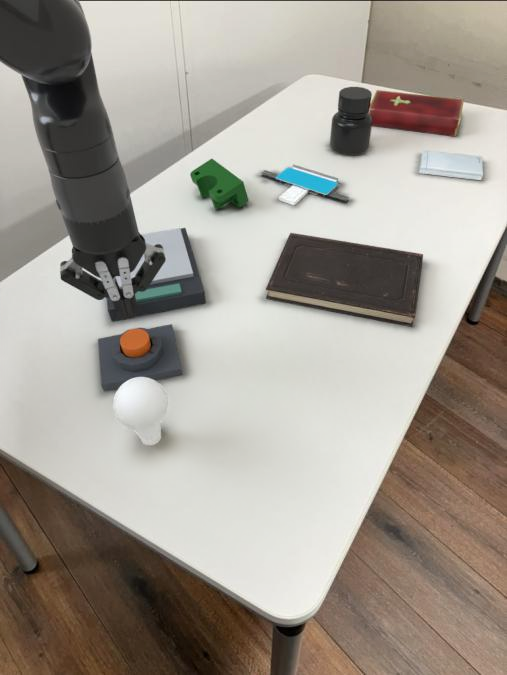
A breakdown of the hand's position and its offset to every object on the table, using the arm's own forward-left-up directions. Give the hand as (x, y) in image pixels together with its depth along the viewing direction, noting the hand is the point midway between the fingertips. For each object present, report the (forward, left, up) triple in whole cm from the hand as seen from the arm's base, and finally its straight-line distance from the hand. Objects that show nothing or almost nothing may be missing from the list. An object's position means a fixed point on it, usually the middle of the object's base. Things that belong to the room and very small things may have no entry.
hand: (128, 314), depth 67 cm
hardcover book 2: (+73, +59, -9) cm, 94 cm away
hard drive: (+70, +36, -9) cm, 79 cm away
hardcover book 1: (+35, +8, -9) cm, 37 cm away
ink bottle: (+53, +51, -9) cm, 74 cm away
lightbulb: (0, -14, -9) cm, 17 cm away
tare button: (0, 0, -6) cm, 6 cm away
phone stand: (+37, +37, -9) cm, 53 cm away
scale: (+4, +18, -9) cm, 20 cm away
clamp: (+20, +38, -9) cm, 44 cm away
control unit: (0, 0, -9) cm, 9 cm away
